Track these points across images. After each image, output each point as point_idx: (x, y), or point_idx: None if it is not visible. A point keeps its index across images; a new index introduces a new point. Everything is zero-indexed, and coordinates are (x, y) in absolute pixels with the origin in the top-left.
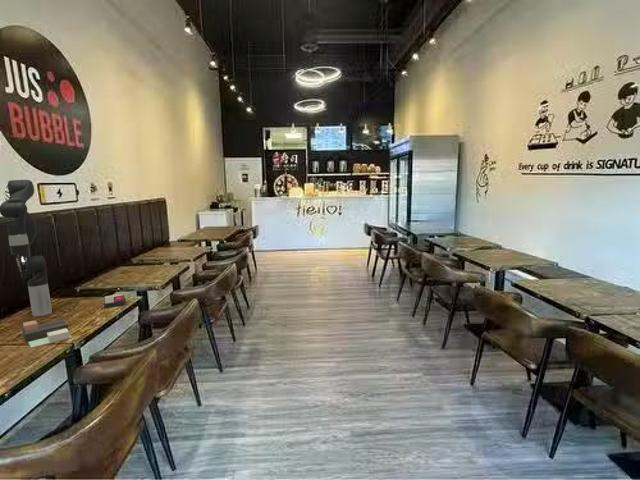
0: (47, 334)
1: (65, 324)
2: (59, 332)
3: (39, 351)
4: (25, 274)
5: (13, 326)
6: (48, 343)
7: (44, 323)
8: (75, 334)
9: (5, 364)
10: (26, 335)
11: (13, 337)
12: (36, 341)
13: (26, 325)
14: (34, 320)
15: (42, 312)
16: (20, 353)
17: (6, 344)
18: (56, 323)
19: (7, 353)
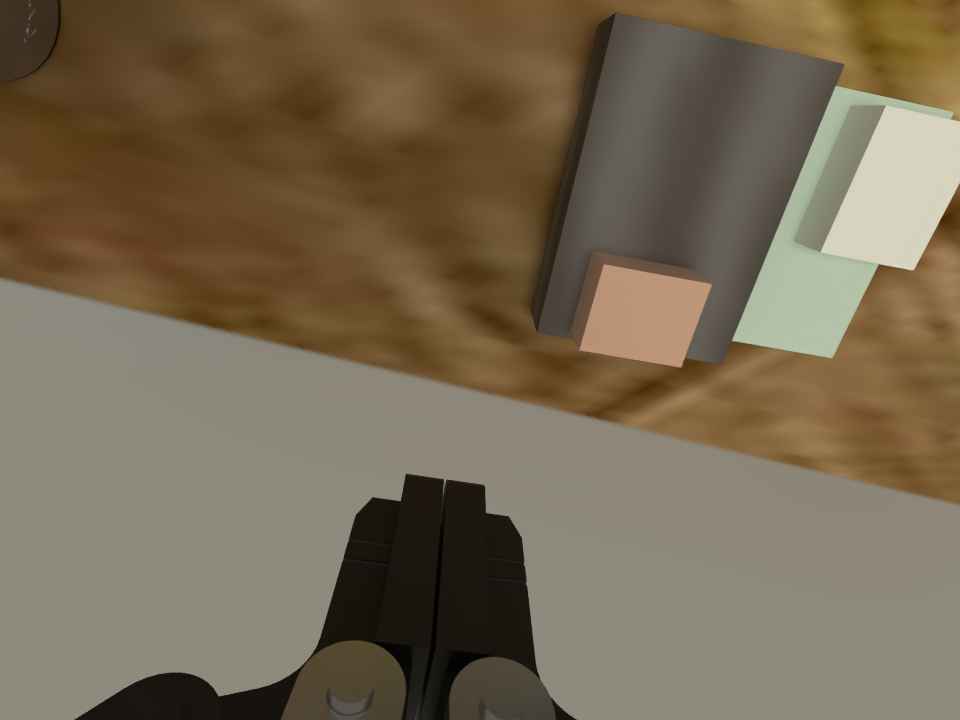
0: (839, 255)
1: (817, 77)
2: (922, 189)
3: (935, 344)
4: (521, 595)
5: (211, 282)
6: (874, 267)
7: (587, 184)
8: (907, 58)
9: (911, 493)
10: (720, 356)
11: (496, 355)
12: (759, 303)
13: (682, 355)
14: (604, 272)
15: (34, 5)
16: (842, 413)
17: (599, 415)
18: (698, 117)
19: (763, 450)
